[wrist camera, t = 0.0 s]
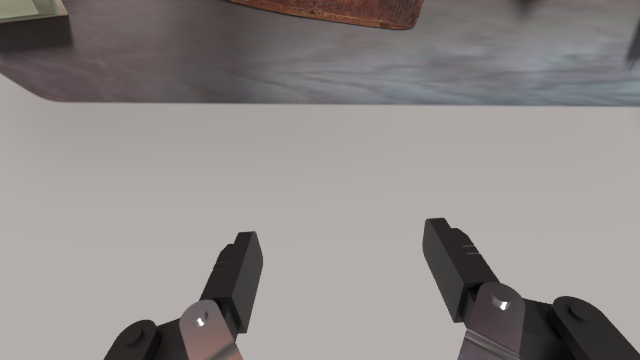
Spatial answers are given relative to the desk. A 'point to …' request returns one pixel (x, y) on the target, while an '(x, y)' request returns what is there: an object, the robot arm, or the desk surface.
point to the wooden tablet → (348, 10)
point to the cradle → (30, 9)
